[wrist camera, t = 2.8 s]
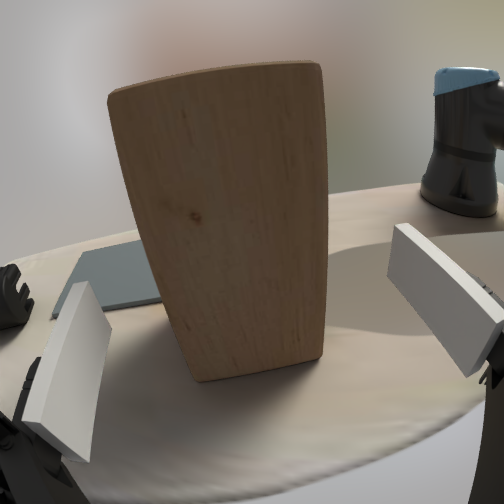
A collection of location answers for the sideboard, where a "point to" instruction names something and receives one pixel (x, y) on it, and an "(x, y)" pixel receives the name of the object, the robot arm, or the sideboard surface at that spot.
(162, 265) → the wooden block
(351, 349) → the sideboard surface
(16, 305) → the black rounded block
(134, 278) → the mat
